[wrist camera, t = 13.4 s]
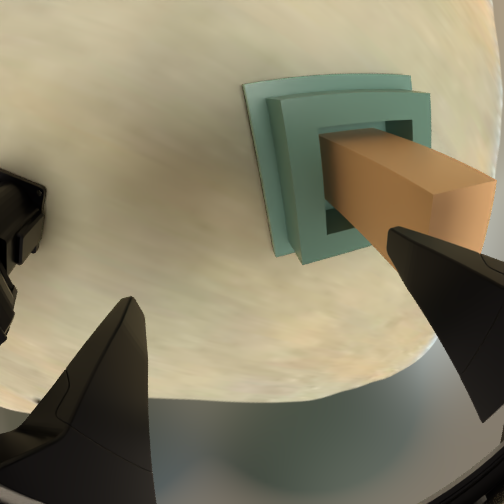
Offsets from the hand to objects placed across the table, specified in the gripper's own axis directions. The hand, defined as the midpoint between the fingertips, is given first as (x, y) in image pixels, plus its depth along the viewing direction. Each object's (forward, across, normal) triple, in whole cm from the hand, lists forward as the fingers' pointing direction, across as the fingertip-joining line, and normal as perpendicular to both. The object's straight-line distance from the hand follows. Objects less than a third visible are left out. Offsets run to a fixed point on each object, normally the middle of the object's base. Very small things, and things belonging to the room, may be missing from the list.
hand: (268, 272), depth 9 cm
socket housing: (+13, -9, +1) cm, 16 cm away
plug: (+12, -9, +1) cm, 15 cm away
